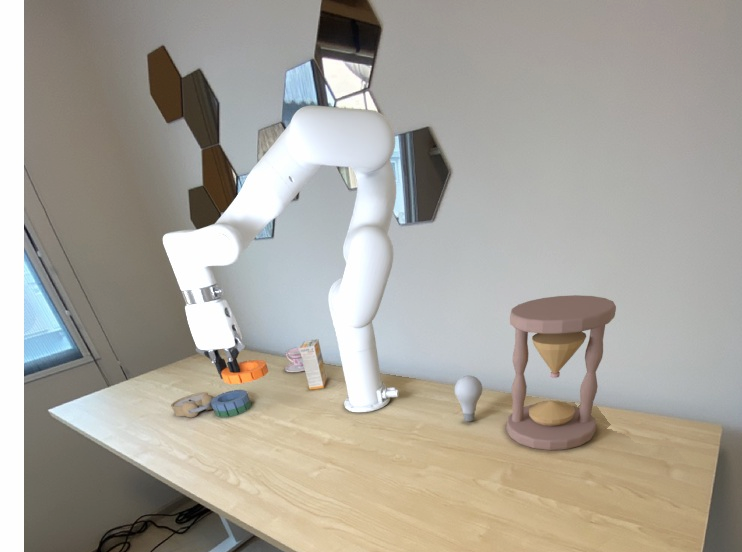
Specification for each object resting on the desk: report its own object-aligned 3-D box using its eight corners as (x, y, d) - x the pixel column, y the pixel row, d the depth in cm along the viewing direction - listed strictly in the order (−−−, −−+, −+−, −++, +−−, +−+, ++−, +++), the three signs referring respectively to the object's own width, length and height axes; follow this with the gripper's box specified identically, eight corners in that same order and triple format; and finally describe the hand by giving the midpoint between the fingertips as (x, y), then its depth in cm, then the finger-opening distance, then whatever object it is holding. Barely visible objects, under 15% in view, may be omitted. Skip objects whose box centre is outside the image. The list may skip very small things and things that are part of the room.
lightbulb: (485, 416, 97) (485, 371, 90) (478, 428, 92) (478, 382, 86) (460, 414, 99) (458, 371, 93) (452, 426, 95) (450, 381, 89)
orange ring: (274, 366, 102) (272, 358, 101) (257, 382, 93) (254, 374, 92) (236, 369, 104) (234, 361, 103) (216, 385, 96) (212, 377, 95)
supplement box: (324, 388, 127) (314, 346, 119) (309, 390, 127) (298, 348, 120) (327, 378, 133) (318, 338, 126) (313, 380, 134) (303, 340, 127)
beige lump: (198, 391, 132) (217, 390, 122) (205, 405, 135) (224, 406, 124) (164, 404, 126) (182, 405, 116) (172, 419, 128) (190, 421, 118)
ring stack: (257, 401, 126) (253, 388, 124) (240, 416, 118) (236, 403, 115) (227, 402, 129) (222, 390, 126) (209, 418, 120) (203, 405, 118)
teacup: (322, 359, 151) (318, 343, 148) (311, 371, 142) (307, 354, 138) (292, 362, 154) (288, 345, 150) (280, 374, 144) (275, 356, 141)
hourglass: (600, 415, 89) (621, 293, 75) (588, 456, 77) (610, 320, 63) (518, 408, 98) (523, 296, 84) (496, 444, 86) (498, 321, 72)
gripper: (242, 288, 91) (267, 368, 101) (180, 296, 94) (210, 373, 105) (226, 295, 85) (254, 380, 95) (160, 303, 88) (194, 384, 99)
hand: (230, 376), depth 100 cm, fingers closed on orange ring, 2 cm apart
